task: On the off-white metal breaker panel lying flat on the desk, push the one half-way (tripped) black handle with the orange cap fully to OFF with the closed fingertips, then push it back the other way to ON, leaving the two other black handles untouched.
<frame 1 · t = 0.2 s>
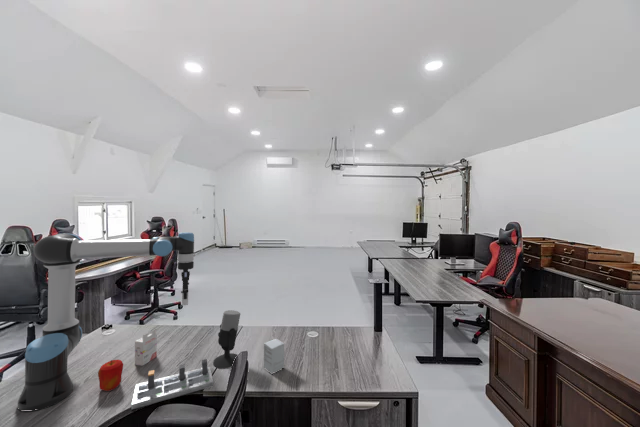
hand: (184, 300, 138), 28 cm above the table, fingers open, 13 cm apart
ink cartridge box: (145, 361, 130), on the table
supplement box: (273, 369, 126), on the table
breaker mid: (181, 373, 112), point 5 cm above the table, slide at 2.5 cm
breaker tripped: (151, 380, 107), point 6 cm above the table, slide at 0.3 cm
breaker right: (204, 368, 116), point 5 cm above the table, slide at 2.5 cm
breaker panel: (175, 387, 111), on the table
apple: (110, 388, 110), on the table
microphone: (226, 361, 131), on the table
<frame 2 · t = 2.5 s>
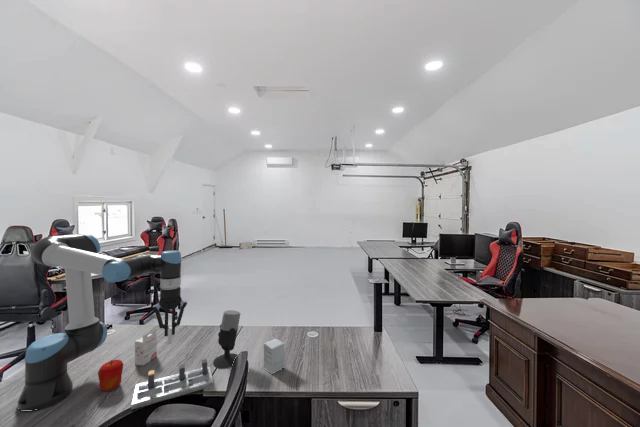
hand: (169, 342, 110), 20 cm above the table, fingers closed
nothing on the table moved.
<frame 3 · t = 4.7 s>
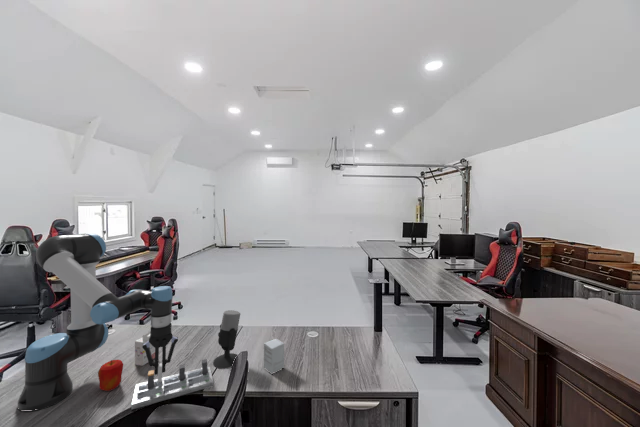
hand: (159, 380, 108), 5 cm above the table, fingers closed
breaker tripped: (150, 380, 107), point 6 cm above the table, slide at 0.2 cm, touching gripper
everything else where it was.
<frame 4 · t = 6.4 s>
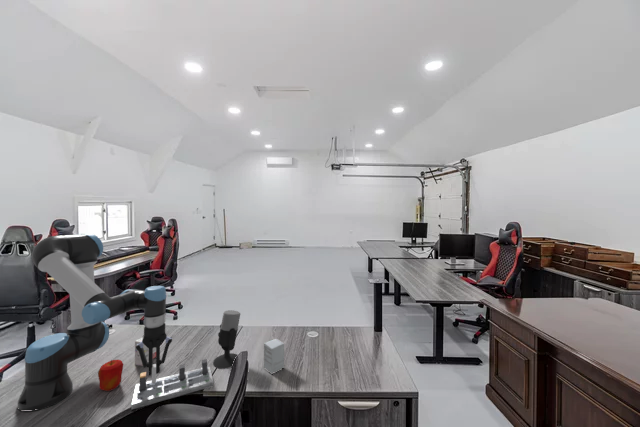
hand: (153, 381, 107), 5 cm above the table, fingers closed
breaker tripped: (143, 382, 105), point 6 cm above the table, slide at -2.5 cm
everything else where it was.
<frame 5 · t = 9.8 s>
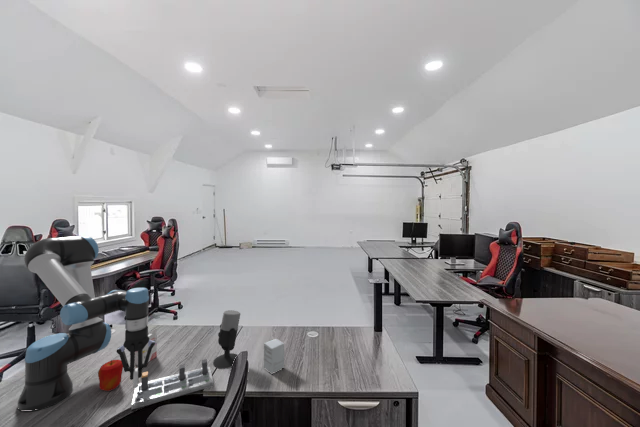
hand: (135, 386, 104), 5 cm above the table, fingers closed
breaker tripped: (144, 382, 105), point 6 cm above the table, slide at -1.9 cm, touching gripper
everything else where it was.
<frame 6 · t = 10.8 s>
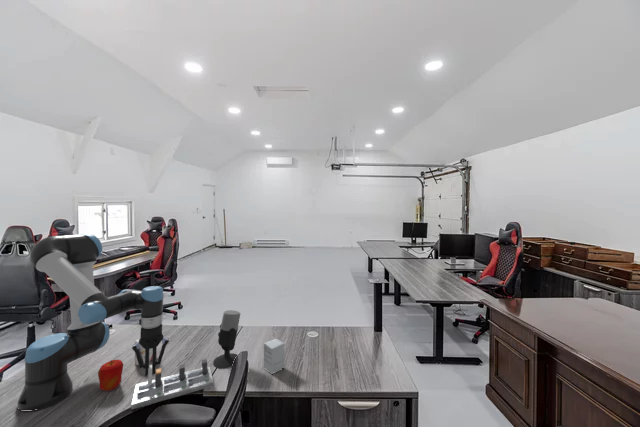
hand: (150, 382, 106), 5 cm above the table, fingers closed
breaker tripped: (158, 378, 108), point 6 cm above the table, slide at 2.8 cm, touching gripper
everything else where it was.
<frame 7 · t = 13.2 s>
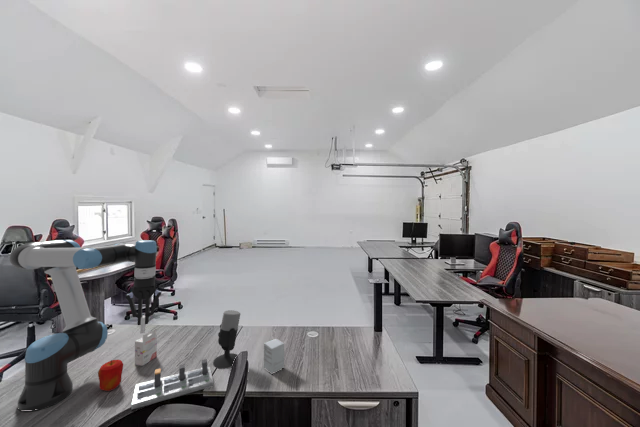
hand: (142, 331, 110), 24 cm above the table, fingers closed
breaker tripped: (157, 379, 108), point 6 cm above the table, slide at 2.5 cm
everything else where it was.
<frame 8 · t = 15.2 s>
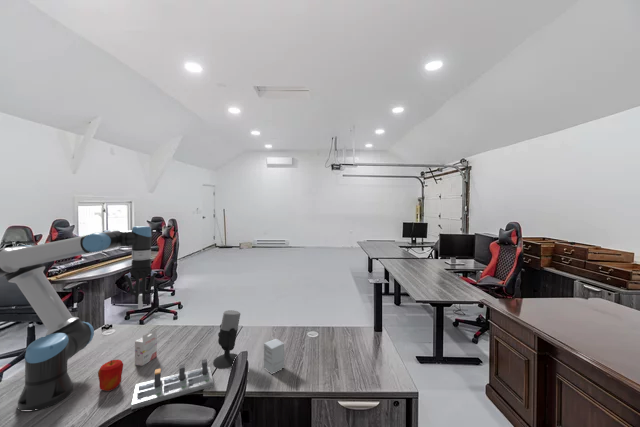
hand: (140, 308, 122), 29 cm above the table, fingers closed
nothing on the table moved.
at the end: breaker tripped slide at 2.5 cm; breaker mid slide at 2.5 cm; breaker right slide at 2.5 cm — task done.
